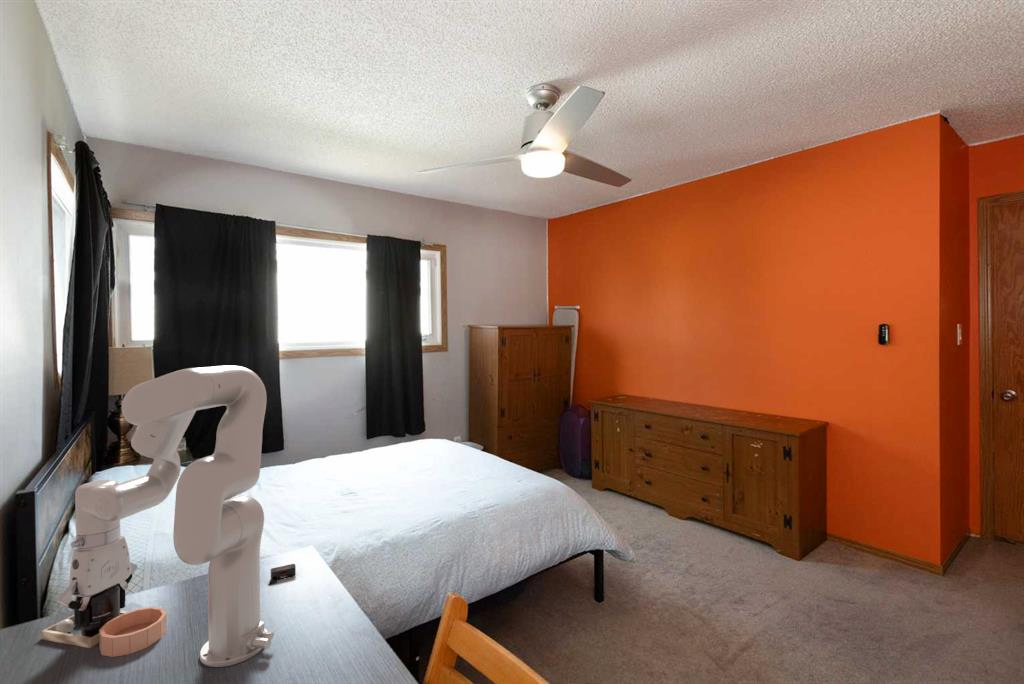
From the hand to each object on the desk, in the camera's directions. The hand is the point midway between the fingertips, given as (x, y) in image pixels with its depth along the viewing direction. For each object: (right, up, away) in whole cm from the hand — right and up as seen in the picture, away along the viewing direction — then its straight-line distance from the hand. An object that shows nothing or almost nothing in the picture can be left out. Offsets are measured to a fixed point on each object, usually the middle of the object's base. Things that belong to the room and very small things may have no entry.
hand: (101, 616), depth 107 cm
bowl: (+10, -4, -3) cm, 11 cm away
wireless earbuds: (+30, -4, +23) cm, 38 cm away
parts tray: (-3, -4, +1) cm, 5 cm away
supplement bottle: (0, -3, 0) cm, 3 cm away
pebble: (-8, -4, -1) cm, 8 cm away
